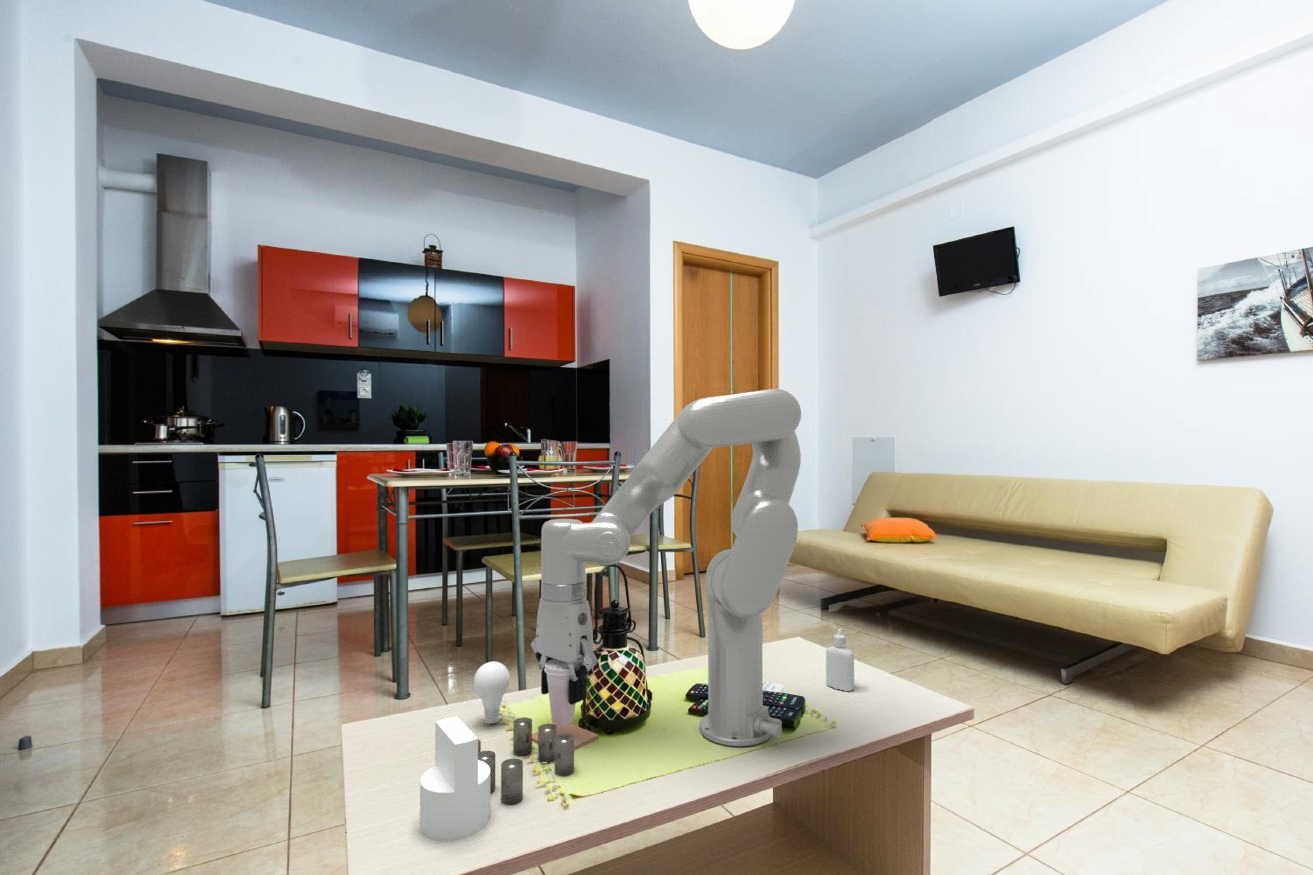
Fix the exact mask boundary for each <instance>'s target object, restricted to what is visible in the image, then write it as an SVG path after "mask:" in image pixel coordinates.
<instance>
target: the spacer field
mask: <svg viewBox="0 0 1313 875" xmlns="http://www.w3.org/2000/svg"><path fill="white" fill-rule="evenodd" d="M512 724H513V726H512V728H513V733H512V734H513V739H512V740H513V743H512V744H513V747H512V749H513V752H512V753H513V755H514V756H515V757H526V756H529V755H531V754H532V753H533V741H532V734H533V719H532V718H530V717H523V716H522V717H518V718H516V719H514V720H513V722H512ZM537 729H538V730H537V732H538V744H537V749H538V750H537V752H538V753H537V756H538V757H537V758H538V759H537V760H539V761H540V762H547V763H548V764H552V763H551V762H553V763H554V774H555V775H556V774H557V775H556V776H558V775H559V776H558V777H568V776H571V775H572V774H574V772H575V750H574V736H572V735H569V734H563V735H559V736H557V725H555V724H554V723H543V724H541V725H539V726H538V727H537ZM481 747H482V741H481V739H478V760H480V761H483V762H485V763H486V764H488V765H489V767H490V795H491V794H493V793H495V791H496V752H494V751H492V750H483V751H481V750H482V748H481ZM531 752H532V753H531ZM539 761H538V762H539ZM554 761H555V762H554ZM540 762H539V763H540ZM523 768H524V761H523V760H522V759H519V758H514V757H512V758H508V759H505V760H503V761H502V762H501V764H500V773H501V774H500V801H501V803H502V804H503V805H505V806H513V805H517V804H519V803H521V802H522V801H523V798H524V792H523V791H524V776H523V775H524V769H523Z"/></svg>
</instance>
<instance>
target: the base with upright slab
mask: <svg viewBox="0 0 1313 875" xmlns="http://www.w3.org/2000/svg"><path fill="white" fill-rule="evenodd" d="M434 731H435V734H434V735H435V737H434V738H435V741H434V742H435V744H434V745H435V748H434V749H435V750H434V751H435V752H434V753H435V754H434V755H435V757H434V760H435V763H434V764H435V765H434V766H432V767H430V768H428V769H427V770H425V771H424V772H423V774H422V775H421V777H420V781H419V790H420V791H419V828H420V829H419V830H420V832H421V833H422V834H423V836H425V837H427V838H428V839H431V840H436V841H456V840H460V839H463V838H467V837H469V836H471V835H474V834H476V833H478V832H479V831H480V830H482V829H483V828H484V827H485V826H486V825H487V824H488V823H489V821H490V818H491V794H490V767H489V765H488V764H486V763H485V762H483V761H480V760H478V740H479V737H477V735H475V734H474V732H473V731H472V730H470V728H469V727H468V726H467V725H466V724H465V723H464V722H463V721H462V720H461V719H460V718H459V717H458V716H450V717H445V718H442V719H439V720H436V721H435V729H434Z"/></svg>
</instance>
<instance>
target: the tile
mask: <svg viewBox="0 0 1313 875" xmlns="http://www.w3.org/2000/svg"><path fill="white" fill-rule="evenodd" d="M555 725H557V736H559V735H563V734H569V735H572V736H574V751H575V750H576V749H579V748H581V747H583V746H584V745H585V746H586V745H587V744H588V743H590V742H592V741H595V740H596V739H598V738H599V734H597V733H595V732H593V731H589V730H587V729H585V728H582V727H579V726H577V725H575V724H572V723H569V724H565V725H558V724H555ZM533 742H534V743H535V744H537V745H538V731H537V732H535V733H532V743H533Z"/></svg>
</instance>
